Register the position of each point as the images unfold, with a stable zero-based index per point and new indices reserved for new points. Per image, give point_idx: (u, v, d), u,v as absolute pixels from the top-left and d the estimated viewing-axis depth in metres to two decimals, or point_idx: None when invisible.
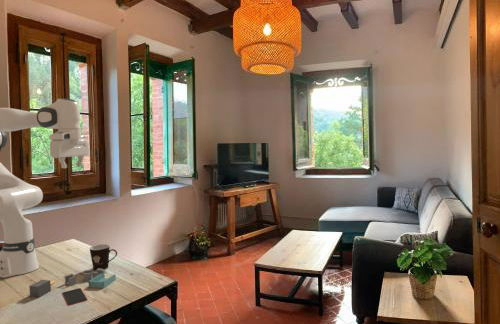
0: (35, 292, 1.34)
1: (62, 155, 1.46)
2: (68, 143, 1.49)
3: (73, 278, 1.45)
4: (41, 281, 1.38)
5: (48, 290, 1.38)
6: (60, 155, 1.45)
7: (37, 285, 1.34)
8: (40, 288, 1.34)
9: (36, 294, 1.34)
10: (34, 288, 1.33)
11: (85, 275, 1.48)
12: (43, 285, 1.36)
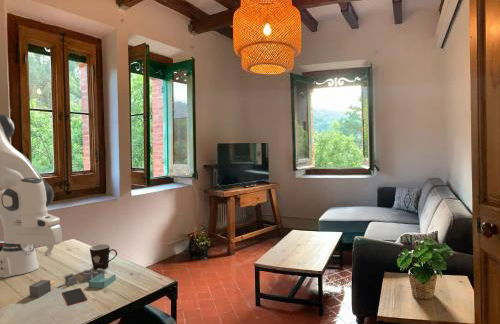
0: (34, 292, 1.34)
1: None
2: None
3: (73, 278, 1.45)
4: (41, 281, 1.38)
5: (48, 290, 1.38)
6: None
7: (37, 285, 1.34)
8: (40, 288, 1.34)
9: (36, 295, 1.33)
10: (34, 288, 1.33)
11: (85, 275, 1.48)
12: (43, 285, 1.36)
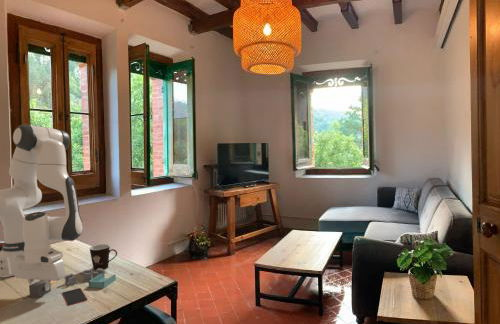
0: (34, 292, 1.33)
1: None
2: None
3: (73, 278, 1.45)
4: (41, 281, 1.38)
5: (48, 290, 1.38)
6: None
7: (36, 285, 1.34)
8: (40, 288, 1.34)
9: (36, 294, 1.33)
10: (34, 288, 1.33)
11: (85, 275, 1.48)
12: (43, 285, 1.35)
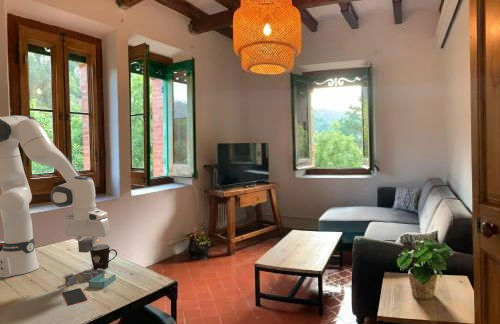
0: (83, 247, 1.46)
1: None
2: None
3: (73, 278, 1.45)
4: (87, 238, 1.51)
5: None
6: None
7: (85, 241, 1.47)
8: (88, 244, 1.47)
9: (84, 249, 1.46)
10: (83, 243, 1.46)
11: (85, 275, 1.48)
12: (90, 241, 1.48)
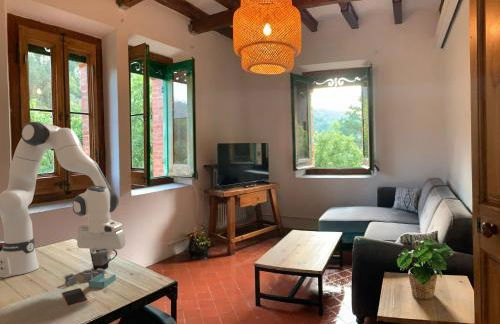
0: (98, 260, 1.42)
1: None
2: None
3: (73, 278, 1.45)
4: (102, 250, 1.46)
5: (108, 259, 1.46)
6: None
7: (99, 253, 1.42)
8: (102, 256, 1.42)
9: (99, 262, 1.41)
10: (97, 256, 1.41)
11: (85, 275, 1.48)
12: (105, 254, 1.44)
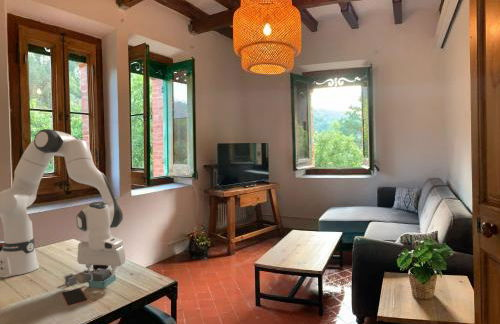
0: (98, 280, 1.42)
1: None
2: None
3: (73, 278, 1.45)
4: (102, 270, 1.46)
5: None
6: None
7: (100, 273, 1.43)
8: (103, 276, 1.42)
9: None
10: (98, 276, 1.42)
11: (85, 275, 1.48)
12: (105, 273, 1.44)
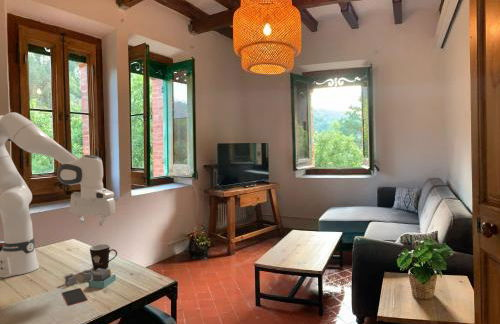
0: (98, 280, 1.42)
1: None
2: None
3: (73, 278, 1.45)
4: (102, 270, 1.46)
5: None
6: None
7: (100, 273, 1.43)
8: (103, 276, 1.42)
9: None
10: (98, 276, 1.42)
11: (85, 275, 1.48)
12: (105, 273, 1.44)
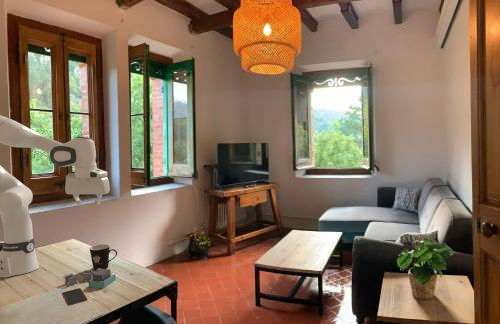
0: (98, 280, 1.42)
1: None
2: None
3: (73, 278, 1.45)
4: (102, 270, 1.46)
5: None
6: None
7: (100, 273, 1.43)
8: (103, 276, 1.42)
9: None
10: (98, 276, 1.42)
11: (85, 275, 1.48)
12: (105, 273, 1.44)
